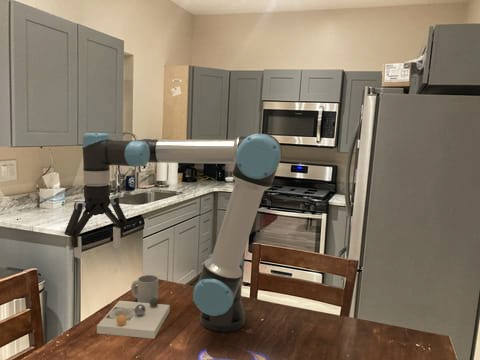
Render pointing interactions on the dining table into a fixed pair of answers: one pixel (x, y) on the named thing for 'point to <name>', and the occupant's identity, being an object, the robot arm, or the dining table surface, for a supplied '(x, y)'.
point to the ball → (140, 310)
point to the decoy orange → (121, 319)
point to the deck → (134, 320)
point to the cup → (145, 288)
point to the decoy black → (153, 302)
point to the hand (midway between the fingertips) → (98, 252)
